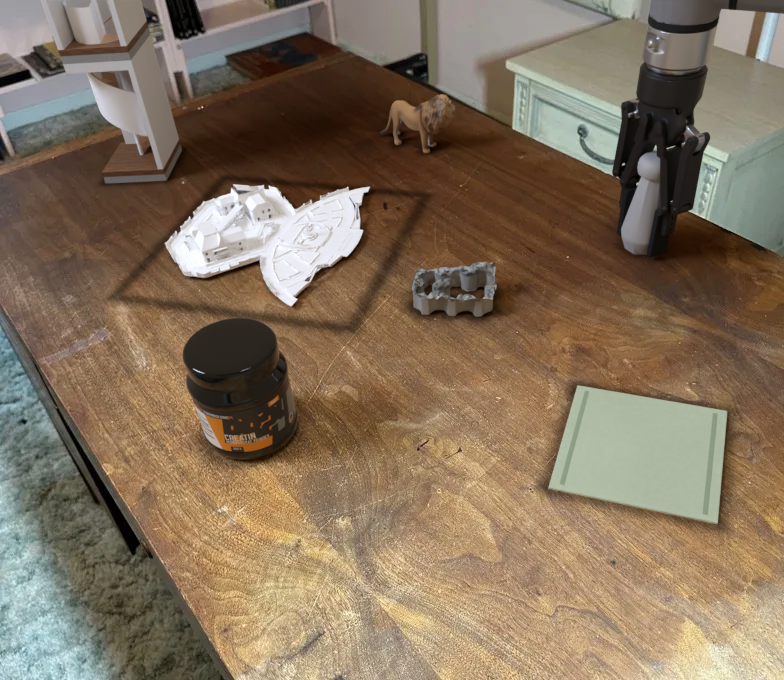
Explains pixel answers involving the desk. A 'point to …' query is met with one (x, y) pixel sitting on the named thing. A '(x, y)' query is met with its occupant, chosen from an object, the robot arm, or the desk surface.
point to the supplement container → (240, 388)
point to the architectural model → (269, 236)
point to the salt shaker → (643, 206)
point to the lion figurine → (421, 118)
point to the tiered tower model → (120, 81)
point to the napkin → (643, 453)
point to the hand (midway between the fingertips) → (641, 241)
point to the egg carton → (456, 276)
